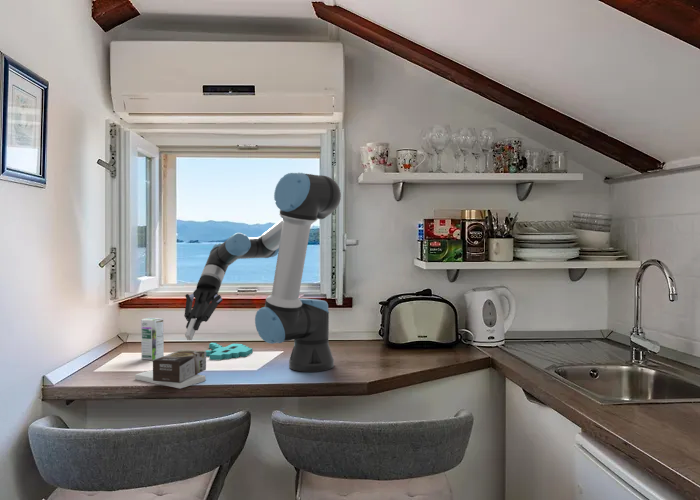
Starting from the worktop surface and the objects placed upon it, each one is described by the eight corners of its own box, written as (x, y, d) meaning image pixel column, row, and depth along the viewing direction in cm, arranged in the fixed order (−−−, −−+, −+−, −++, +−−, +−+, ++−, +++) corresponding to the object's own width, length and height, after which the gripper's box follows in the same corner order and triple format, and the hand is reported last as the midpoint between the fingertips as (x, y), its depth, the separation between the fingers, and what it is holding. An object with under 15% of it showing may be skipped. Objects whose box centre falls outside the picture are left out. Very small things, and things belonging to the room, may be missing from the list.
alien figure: (186, 359, 196) (238, 362, 192) (186, 353, 196) (238, 356, 192) (211, 348, 215) (259, 350, 211) (211, 342, 215) (258, 344, 211)
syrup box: (140, 359, 194) (140, 319, 194) (151, 356, 200) (150, 317, 199) (154, 360, 192) (154, 320, 192) (164, 356, 198) (164, 317, 198)
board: (205, 380, 166) (205, 375, 166) (180, 388, 157) (179, 383, 157) (161, 372, 176) (161, 367, 176) (135, 379, 167) (135, 374, 167)
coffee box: (206, 350, 173) (180, 361, 157) (206, 370, 173) (180, 383, 157) (180, 348, 175) (152, 359, 159) (180, 368, 175) (152, 381, 159)
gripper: (231, 288, 189) (211, 345, 174) (196, 287, 192) (173, 343, 176) (225, 274, 184) (203, 331, 168) (189, 273, 186) (165, 330, 171)
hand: (188, 337), depth 172 cm, fingers closed
